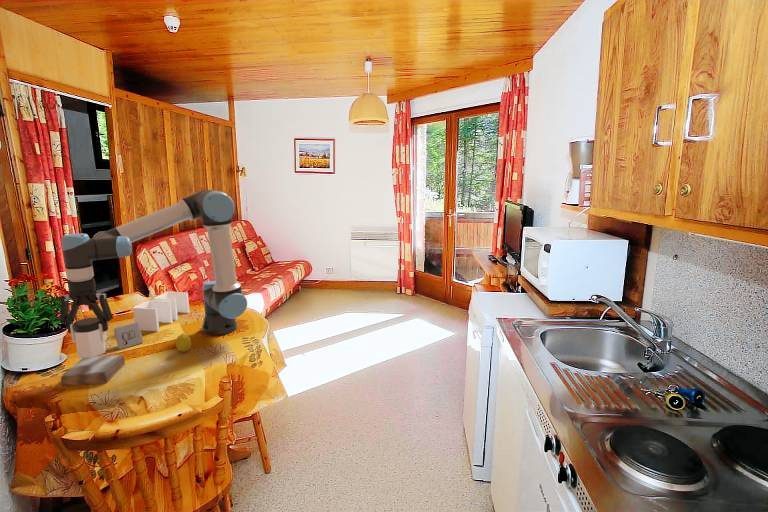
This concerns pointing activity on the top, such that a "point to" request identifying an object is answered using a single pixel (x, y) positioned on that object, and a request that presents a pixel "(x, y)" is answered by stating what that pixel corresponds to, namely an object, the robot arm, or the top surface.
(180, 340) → the lemon
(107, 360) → the stand
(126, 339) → the electrical switch
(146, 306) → the white domino row
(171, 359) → the top surface
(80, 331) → the jar
